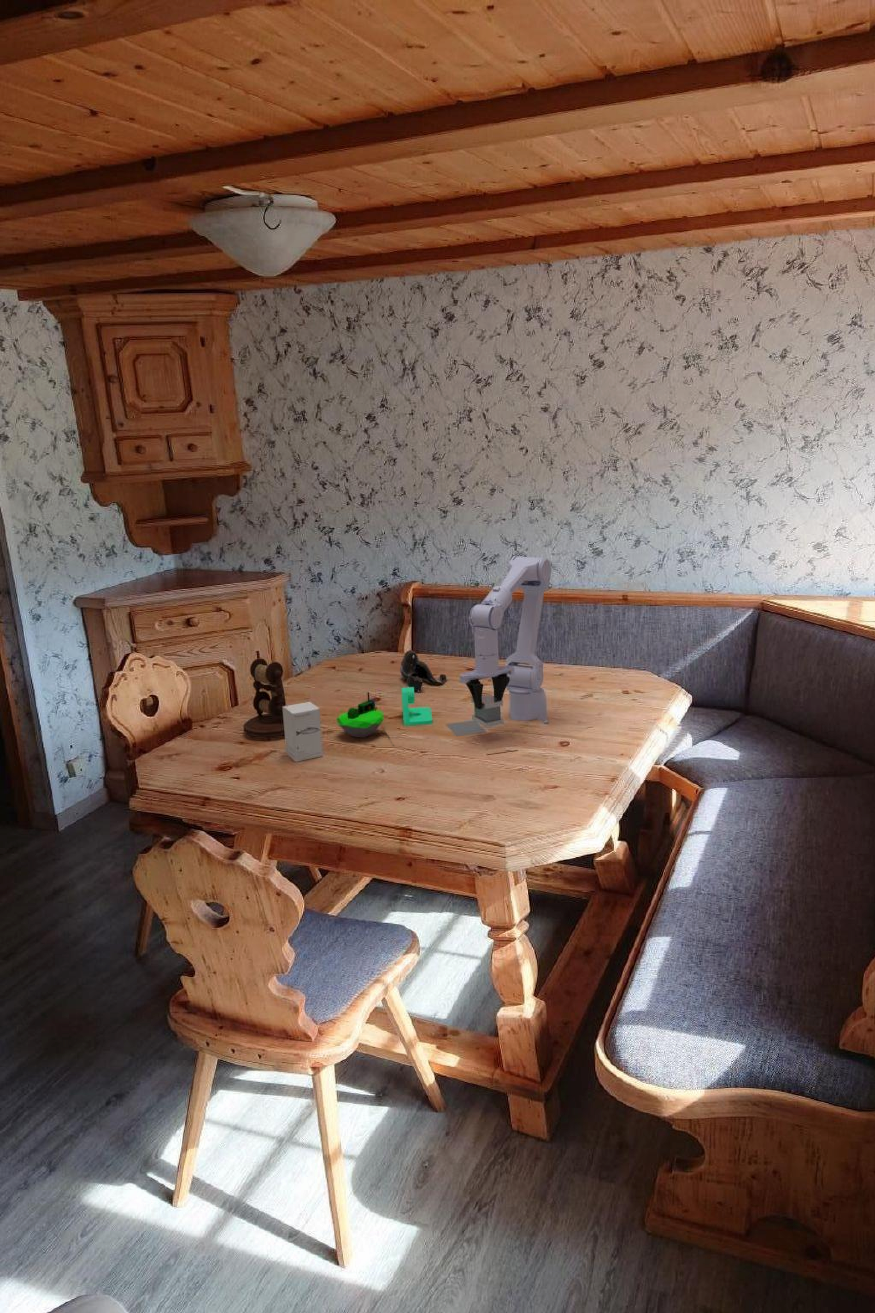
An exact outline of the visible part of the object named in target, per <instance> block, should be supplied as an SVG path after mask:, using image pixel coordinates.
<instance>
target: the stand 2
mask: <svg viewBox="0 0 875 1313" xmlns="http://www.w3.org/2000/svg"><path fill="white" fill-rule="evenodd" d="M474 738H475V739H476V741H478V742H479V744H481V745H482V747H483V748H484V749H485V750H487V751H488V750H493V749H502V748H509V747H515V746H518V744H517V743H516V742H515V741H514V740H513V739H511V738H510V737H509V735H507V734H506V733H505V732H498V733H490V734H489V733H488V734H482V735H481V734H480V735H475V736H474ZM518 751H519V750H518V749H515V750H510V751H509V750H508V751H500V752H494V753H487V754H486V756H490V755H492V756H493V755H498V754H505V753H513V752H518Z"/></svg>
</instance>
